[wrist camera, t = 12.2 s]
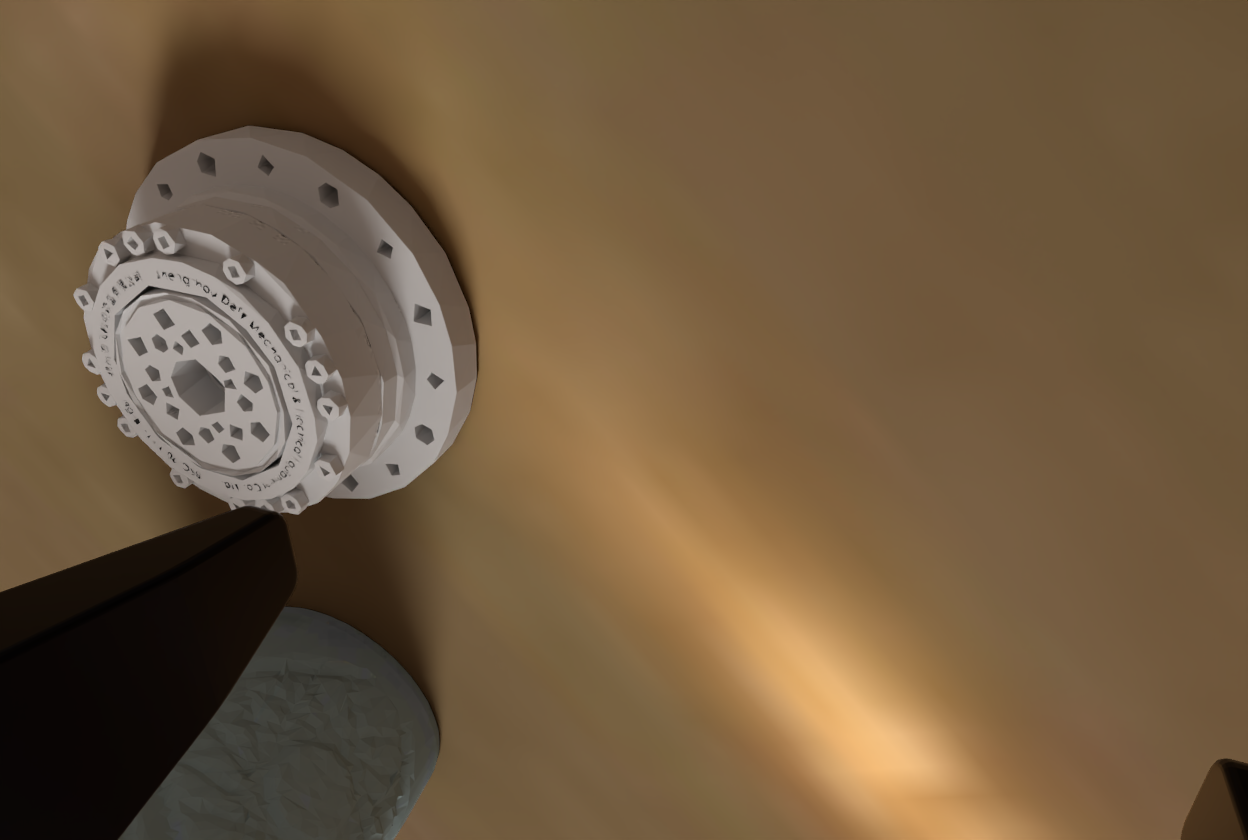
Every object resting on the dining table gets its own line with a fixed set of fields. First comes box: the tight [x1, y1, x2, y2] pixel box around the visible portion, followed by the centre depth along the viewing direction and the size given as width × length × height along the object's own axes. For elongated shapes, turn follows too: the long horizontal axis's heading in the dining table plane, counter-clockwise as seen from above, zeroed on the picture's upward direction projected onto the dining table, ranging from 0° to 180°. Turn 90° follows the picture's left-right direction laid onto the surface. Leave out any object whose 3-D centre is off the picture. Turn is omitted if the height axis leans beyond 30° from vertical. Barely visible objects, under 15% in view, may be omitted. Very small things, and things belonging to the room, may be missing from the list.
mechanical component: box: [74, 126, 477, 515], centre depth 23 cm, size 10×4×10 cm
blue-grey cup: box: [118, 607, 440, 840], centre depth 28 cm, size 10×10×12 cm
